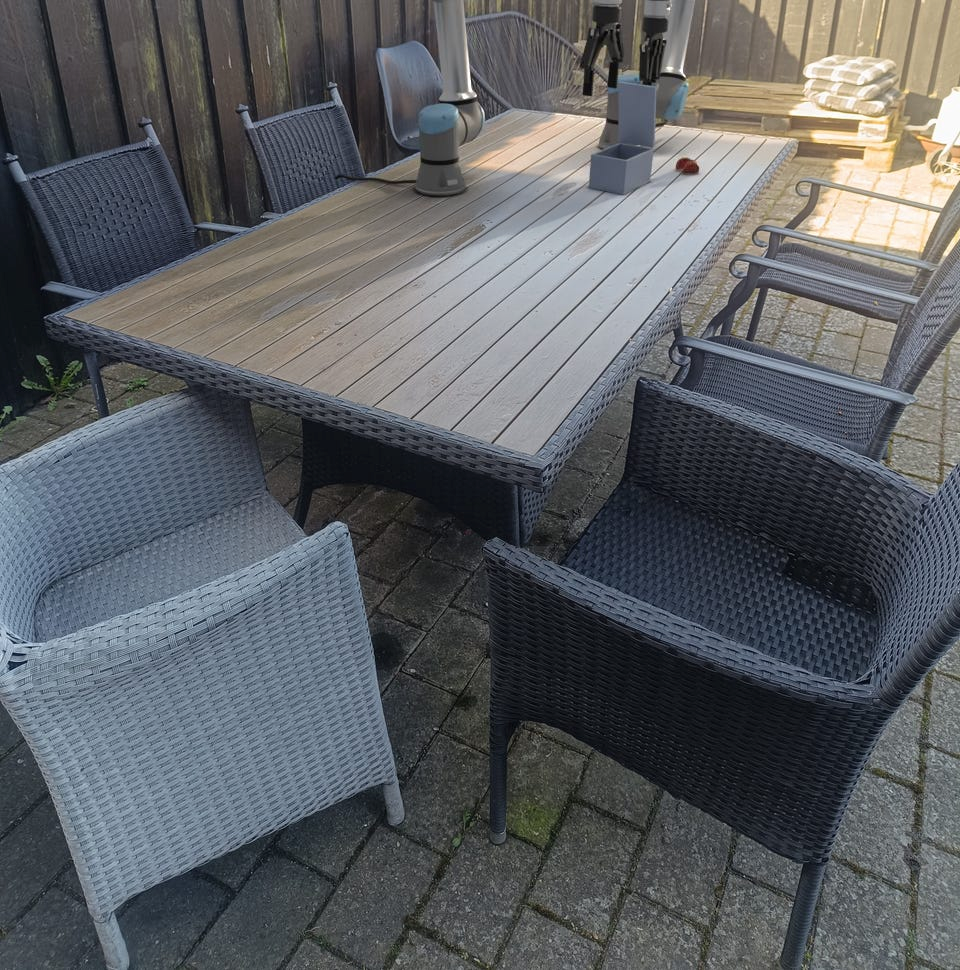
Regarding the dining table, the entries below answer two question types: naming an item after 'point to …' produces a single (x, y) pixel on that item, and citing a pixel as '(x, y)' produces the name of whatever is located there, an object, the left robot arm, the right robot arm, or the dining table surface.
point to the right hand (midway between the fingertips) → (647, 103)
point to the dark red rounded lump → (687, 165)
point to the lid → (637, 113)
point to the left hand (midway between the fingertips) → (599, 91)
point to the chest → (620, 168)
